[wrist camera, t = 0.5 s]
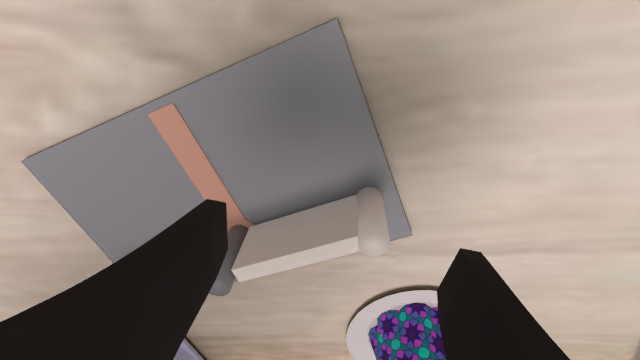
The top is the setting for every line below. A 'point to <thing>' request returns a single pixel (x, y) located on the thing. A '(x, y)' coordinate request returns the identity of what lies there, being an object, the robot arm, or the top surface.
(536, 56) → the top surface
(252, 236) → the fence gate
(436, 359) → the pudding
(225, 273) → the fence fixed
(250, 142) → the card
